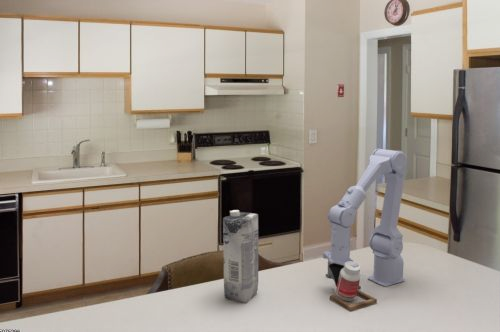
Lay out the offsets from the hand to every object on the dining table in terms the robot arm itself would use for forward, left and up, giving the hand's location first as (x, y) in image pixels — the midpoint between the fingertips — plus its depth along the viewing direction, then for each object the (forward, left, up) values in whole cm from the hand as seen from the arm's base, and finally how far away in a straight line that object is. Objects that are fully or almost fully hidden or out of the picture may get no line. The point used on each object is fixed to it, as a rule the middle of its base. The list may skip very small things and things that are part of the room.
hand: (339, 286), depth 146 cm
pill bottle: (0, +3, -2) cm, 4 cm away
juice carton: (+27, -14, -3) cm, 31 cm away
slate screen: (-7, -6, -2) cm, 10 cm away
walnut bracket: (0, +6, -2) cm, 6 cm away
